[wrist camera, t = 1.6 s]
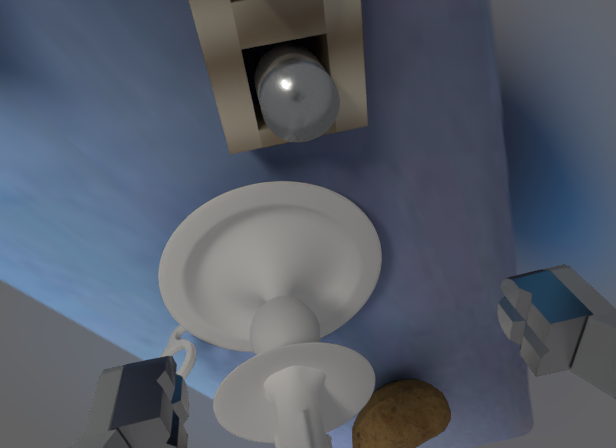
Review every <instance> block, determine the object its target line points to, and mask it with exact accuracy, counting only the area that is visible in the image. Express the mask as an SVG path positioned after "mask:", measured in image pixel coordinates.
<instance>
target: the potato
mask: <svg viewBox="0 0 616 448" xmlns="http://www.w3.org/2000/svg"><path fill="white" fill-rule="evenodd" d="M450 419H451V411H450V408H449V405H448V402H447V400H446V398H445V397H444V395H443V393H442V392H441V391H439V390H438V389H437V388H435V387H434V386H432V385H431V384H428V383H426V382H423V381H421V380H416V379H405V380H398V381H394V382H391V383H388V384H386V385H384V386H382V387H380V388H378V389H377V390H376V391H375V392H374V393H373V394H372V396H371V398H370V399H369V401H368V402H367V404H366V405H365V406H364V407H363V409H362V410H361V411H360V413H359V415H358V416H357V418H356V420H355V422H354V425H353V427H352V443H353V448H416V447H418V446H419V445H421V444H423V443H424V442H426V441H428V440H429V439H431V438H433V437H435V436H437V435H439V434H440V433H441V432H443V431H444V430H445V429H446V427H447V426H448V424H449V421H450Z"/></svg>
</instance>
